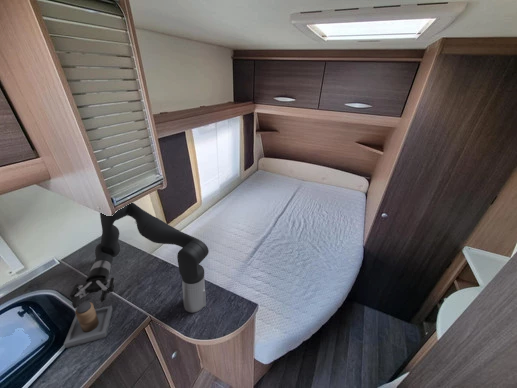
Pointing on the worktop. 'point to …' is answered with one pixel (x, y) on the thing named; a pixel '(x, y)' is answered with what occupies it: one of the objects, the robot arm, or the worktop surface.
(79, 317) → the wooden cylinder
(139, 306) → the worktop surface
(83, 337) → the grey square tray
